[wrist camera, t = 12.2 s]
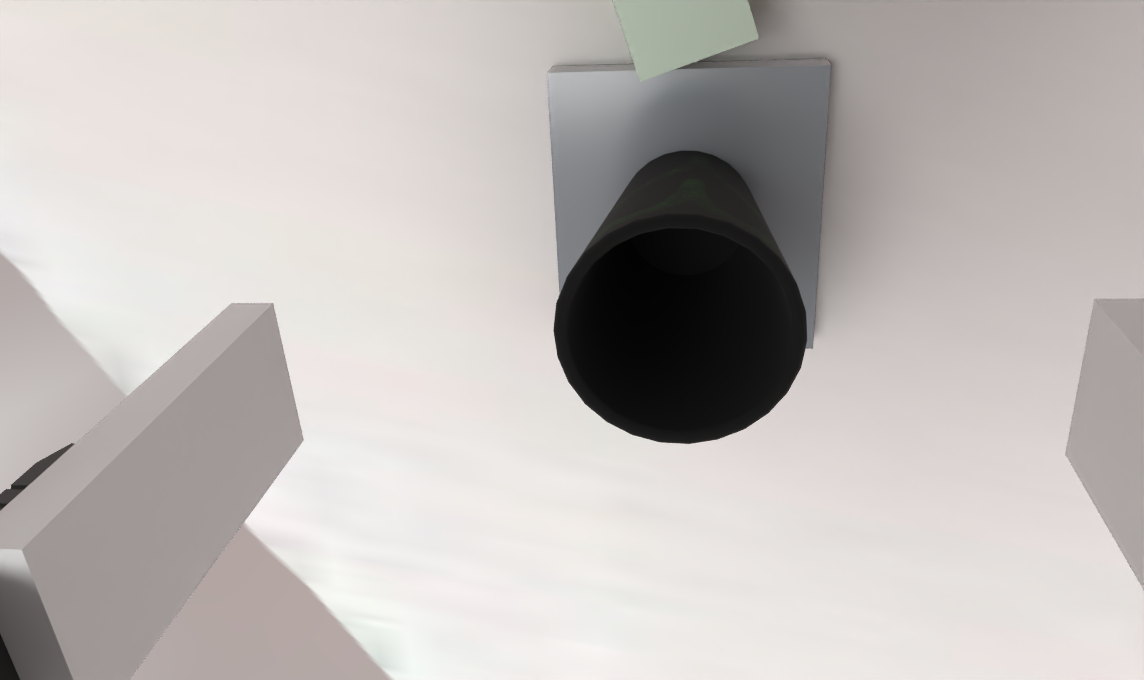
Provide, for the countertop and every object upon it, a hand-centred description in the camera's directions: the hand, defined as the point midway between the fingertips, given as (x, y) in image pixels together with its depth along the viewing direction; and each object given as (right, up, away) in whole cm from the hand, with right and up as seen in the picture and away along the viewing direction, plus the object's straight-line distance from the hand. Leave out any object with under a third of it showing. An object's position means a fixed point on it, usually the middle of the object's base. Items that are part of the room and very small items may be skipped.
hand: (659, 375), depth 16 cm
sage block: (+3, +15, +22) cm, 26 cm away
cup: (+3, +6, +24) cm, 25 cm away
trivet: (+4, +6, +26) cm, 27 cm away
